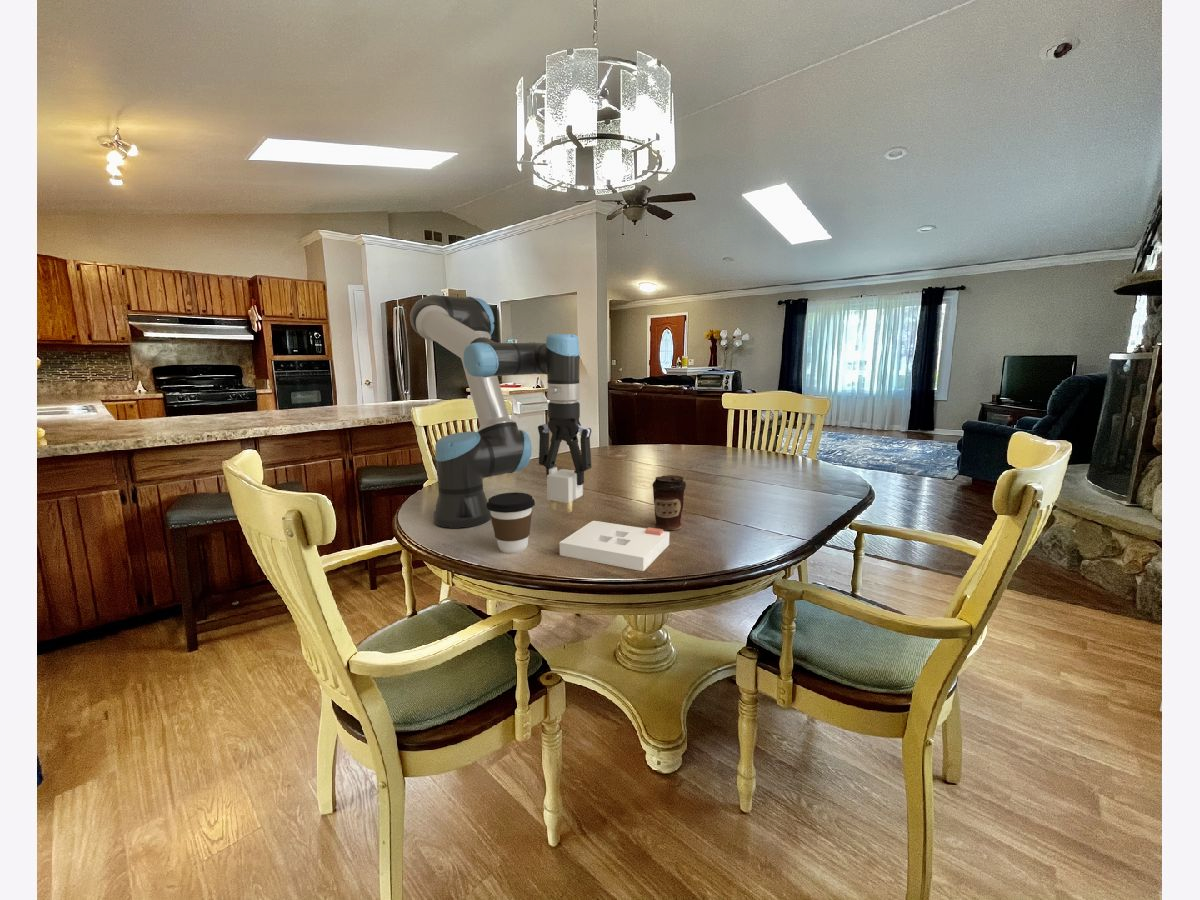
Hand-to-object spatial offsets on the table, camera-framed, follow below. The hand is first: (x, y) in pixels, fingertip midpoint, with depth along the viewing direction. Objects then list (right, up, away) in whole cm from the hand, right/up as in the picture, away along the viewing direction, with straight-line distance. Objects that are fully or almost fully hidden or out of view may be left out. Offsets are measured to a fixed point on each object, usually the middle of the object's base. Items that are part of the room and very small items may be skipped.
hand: (565, 495), depth 122 cm
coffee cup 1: (-11, -12, -7) cm, 18 cm away
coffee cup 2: (+26, -9, +5) cm, 28 cm away
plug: (0, -3, +1) cm, 3 cm away
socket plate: (+12, -12, -9) cm, 19 cm away
